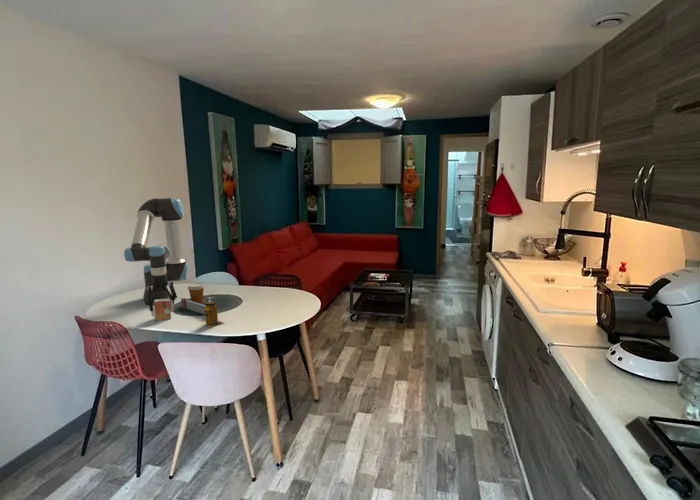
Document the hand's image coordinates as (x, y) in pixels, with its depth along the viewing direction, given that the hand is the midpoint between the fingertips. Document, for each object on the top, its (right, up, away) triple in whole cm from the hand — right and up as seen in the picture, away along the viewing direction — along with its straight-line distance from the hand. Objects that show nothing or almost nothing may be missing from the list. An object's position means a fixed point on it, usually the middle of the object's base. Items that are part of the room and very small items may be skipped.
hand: (162, 313), depth 210 cm
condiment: (+31, -4, -8) cm, 32 cm away
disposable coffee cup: (+8, +2, +27) cm, 29 cm away
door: (+14, -1, +10) cm, 17 cm away
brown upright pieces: (+15, -1, +10) cm, 18 cm away
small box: (0, -3, 0) cm, 3 cm away
